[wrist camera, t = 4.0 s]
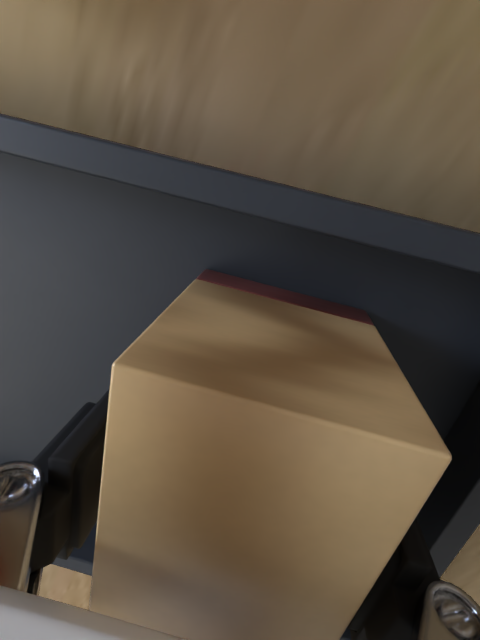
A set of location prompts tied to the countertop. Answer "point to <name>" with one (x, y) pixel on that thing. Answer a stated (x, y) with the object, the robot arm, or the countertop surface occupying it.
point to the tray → (225, 257)
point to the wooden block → (256, 466)
